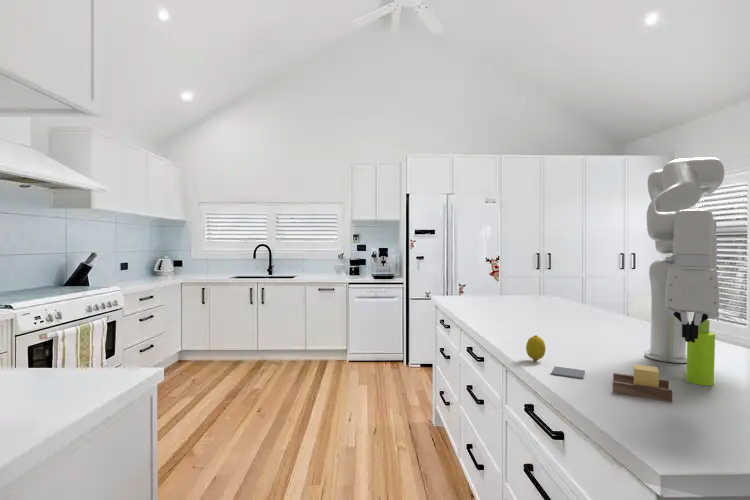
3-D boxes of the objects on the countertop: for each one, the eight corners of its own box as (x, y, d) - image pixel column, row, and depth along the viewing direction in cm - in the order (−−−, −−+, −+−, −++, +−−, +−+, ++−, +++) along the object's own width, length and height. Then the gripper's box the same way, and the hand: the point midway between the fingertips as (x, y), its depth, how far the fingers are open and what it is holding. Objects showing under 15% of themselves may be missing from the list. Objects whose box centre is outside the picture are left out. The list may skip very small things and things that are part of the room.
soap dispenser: (707, 379, 121) (709, 305, 121) (717, 386, 115) (719, 308, 114) (681, 376, 123) (684, 303, 123) (690, 384, 116) (692, 307, 116)
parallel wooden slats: (613, 382, 117) (613, 372, 117) (668, 390, 111) (668, 380, 111) (612, 392, 108) (613, 382, 108) (672, 401, 103) (672, 390, 103)
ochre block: (633, 387, 113) (633, 364, 112) (656, 391, 110) (657, 367, 110) (633, 393, 108) (634, 368, 108) (658, 397, 106) (659, 372, 106)
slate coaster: (554, 367, 130) (554, 366, 130) (585, 371, 126) (585, 370, 126) (551, 374, 123) (551, 373, 123) (583, 379, 119) (583, 377, 119)
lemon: (546, 364, 133) (547, 337, 133) (527, 363, 134) (527, 336, 134) (543, 359, 139) (544, 333, 139) (524, 358, 140) (525, 332, 140)
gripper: (655, 261, 105) (653, 340, 105) (735, 264, 98) (733, 348, 98) (653, 261, 111) (651, 335, 111) (728, 263, 104) (726, 342, 104)
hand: (689, 341), depth 105 cm, fingers closed
